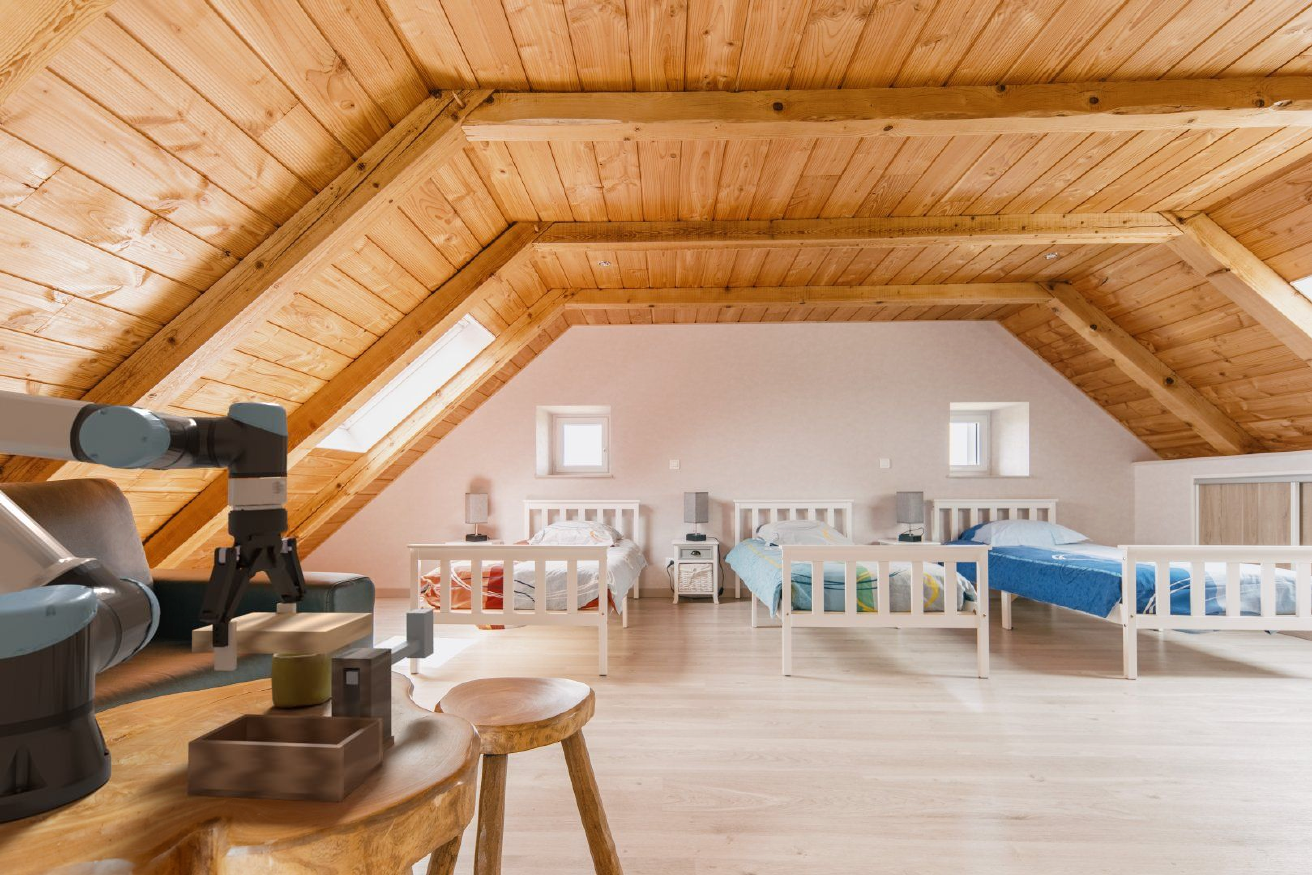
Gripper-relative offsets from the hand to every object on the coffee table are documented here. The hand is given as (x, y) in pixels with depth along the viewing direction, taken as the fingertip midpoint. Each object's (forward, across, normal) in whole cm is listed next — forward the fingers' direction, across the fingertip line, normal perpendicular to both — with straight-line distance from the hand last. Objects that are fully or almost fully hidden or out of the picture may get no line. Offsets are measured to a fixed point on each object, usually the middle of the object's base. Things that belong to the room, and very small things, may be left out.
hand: (257, 657), depth 97 cm
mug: (+11, +14, +2) cm, 18 cm away
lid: (-2, 0, -5) cm, 5 cm away
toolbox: (+11, -11, -15) cm, 21 cm away
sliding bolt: (+3, +3, -19) cm, 20 cm away
